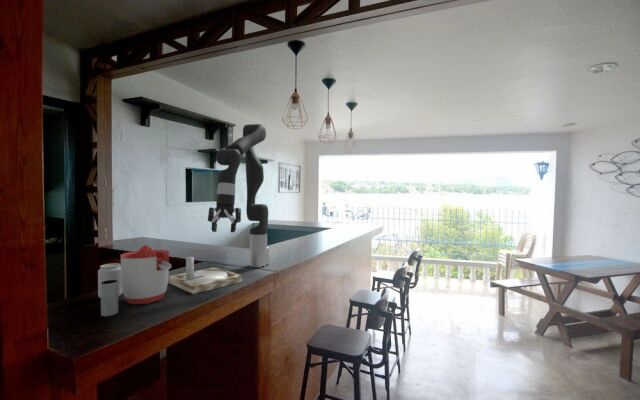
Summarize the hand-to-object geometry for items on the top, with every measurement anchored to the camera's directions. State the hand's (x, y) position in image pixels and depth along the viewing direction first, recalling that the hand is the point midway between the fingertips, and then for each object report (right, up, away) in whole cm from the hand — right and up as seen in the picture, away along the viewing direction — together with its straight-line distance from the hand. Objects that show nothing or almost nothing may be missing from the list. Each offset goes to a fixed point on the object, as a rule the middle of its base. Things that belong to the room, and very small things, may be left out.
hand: (223, 232), depth 130 cm
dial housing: (-9, -22, +3) cm, 24 cm away
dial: (-9, -21, +3) cm, 23 cm away
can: (-37, -23, -15) cm, 46 cm away
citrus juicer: (-21, -23, -19) cm, 37 cm away
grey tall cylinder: (-26, -23, -32) cm, 47 cm away
